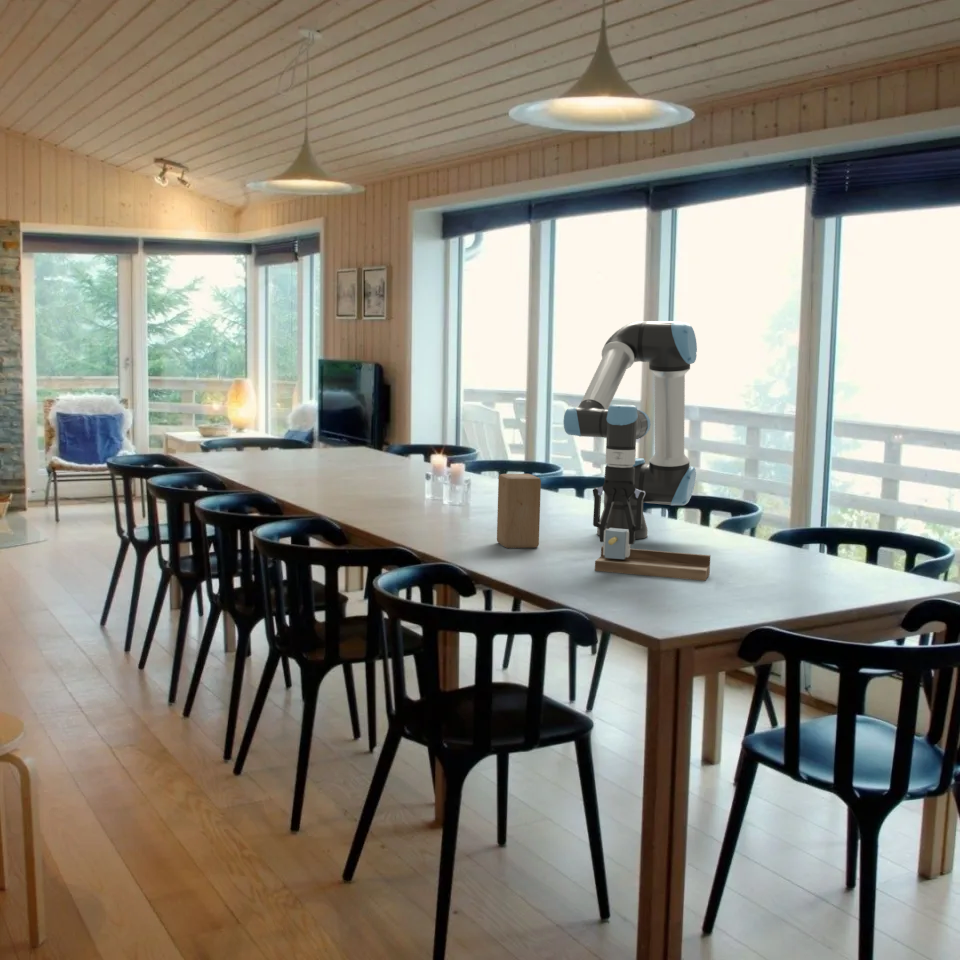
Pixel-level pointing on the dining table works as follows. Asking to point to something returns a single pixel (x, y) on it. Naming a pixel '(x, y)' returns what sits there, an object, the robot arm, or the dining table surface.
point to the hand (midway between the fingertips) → (616, 555)
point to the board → (658, 564)
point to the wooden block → (518, 510)
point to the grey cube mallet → (615, 543)
